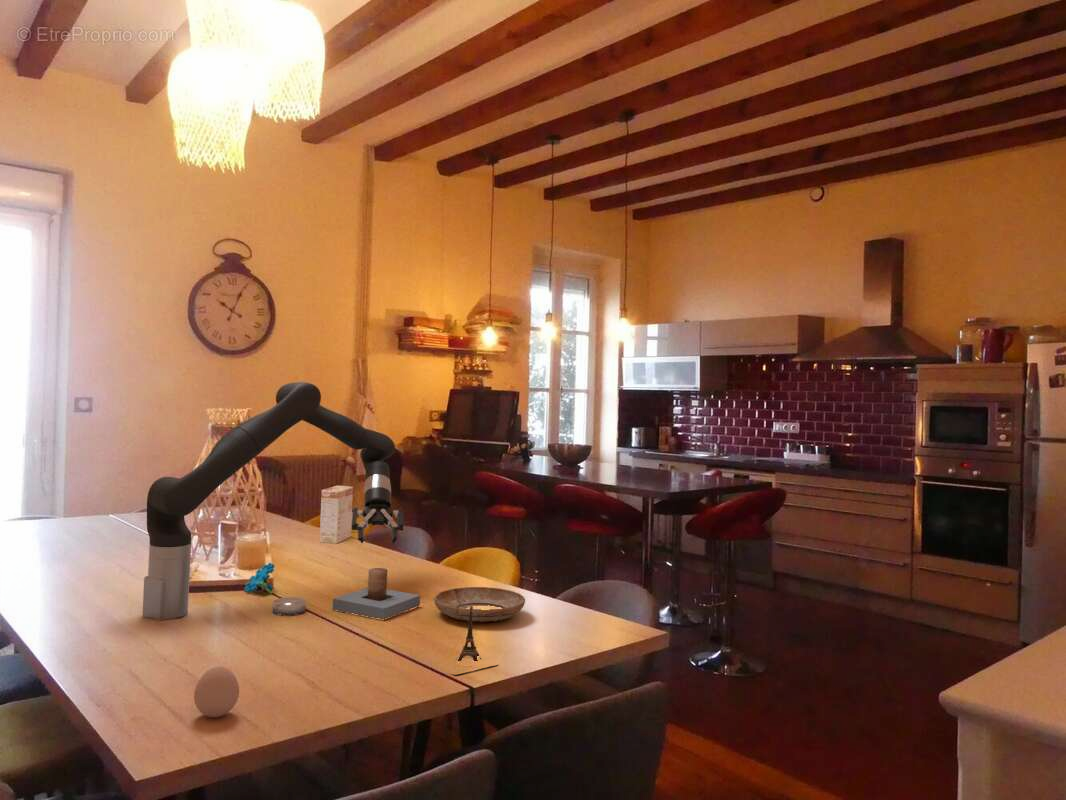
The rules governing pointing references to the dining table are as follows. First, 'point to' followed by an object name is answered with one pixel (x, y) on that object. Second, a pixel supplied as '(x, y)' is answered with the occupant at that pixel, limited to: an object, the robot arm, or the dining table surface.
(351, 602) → the hub block
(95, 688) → the dining table surface
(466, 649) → the eiffel tower figurine
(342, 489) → the coffeecake box
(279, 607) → the pedestal
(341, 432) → the robot arm
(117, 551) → the dining table surface
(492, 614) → the ceramic bowl
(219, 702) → the egg
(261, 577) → the blue flower cluster
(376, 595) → the peg
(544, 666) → the dining table surface
